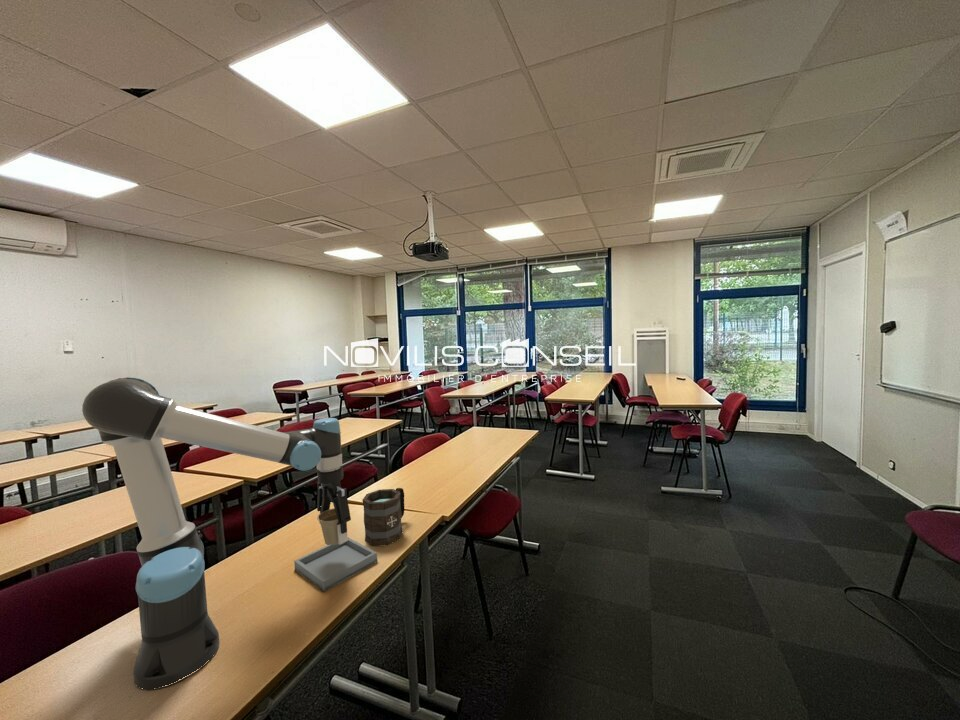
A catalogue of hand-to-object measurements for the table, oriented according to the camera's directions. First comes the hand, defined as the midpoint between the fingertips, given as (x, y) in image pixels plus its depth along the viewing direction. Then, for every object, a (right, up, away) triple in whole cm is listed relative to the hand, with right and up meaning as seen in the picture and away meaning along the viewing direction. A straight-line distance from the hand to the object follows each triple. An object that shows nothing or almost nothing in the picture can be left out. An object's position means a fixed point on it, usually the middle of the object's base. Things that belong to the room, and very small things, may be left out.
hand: (335, 537), depth 120 cm
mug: (+12, -8, +20) cm, 25 cm away
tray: (0, -9, 0) cm, 9 cm away
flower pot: (0, -1, 0) cm, 1 cm away
